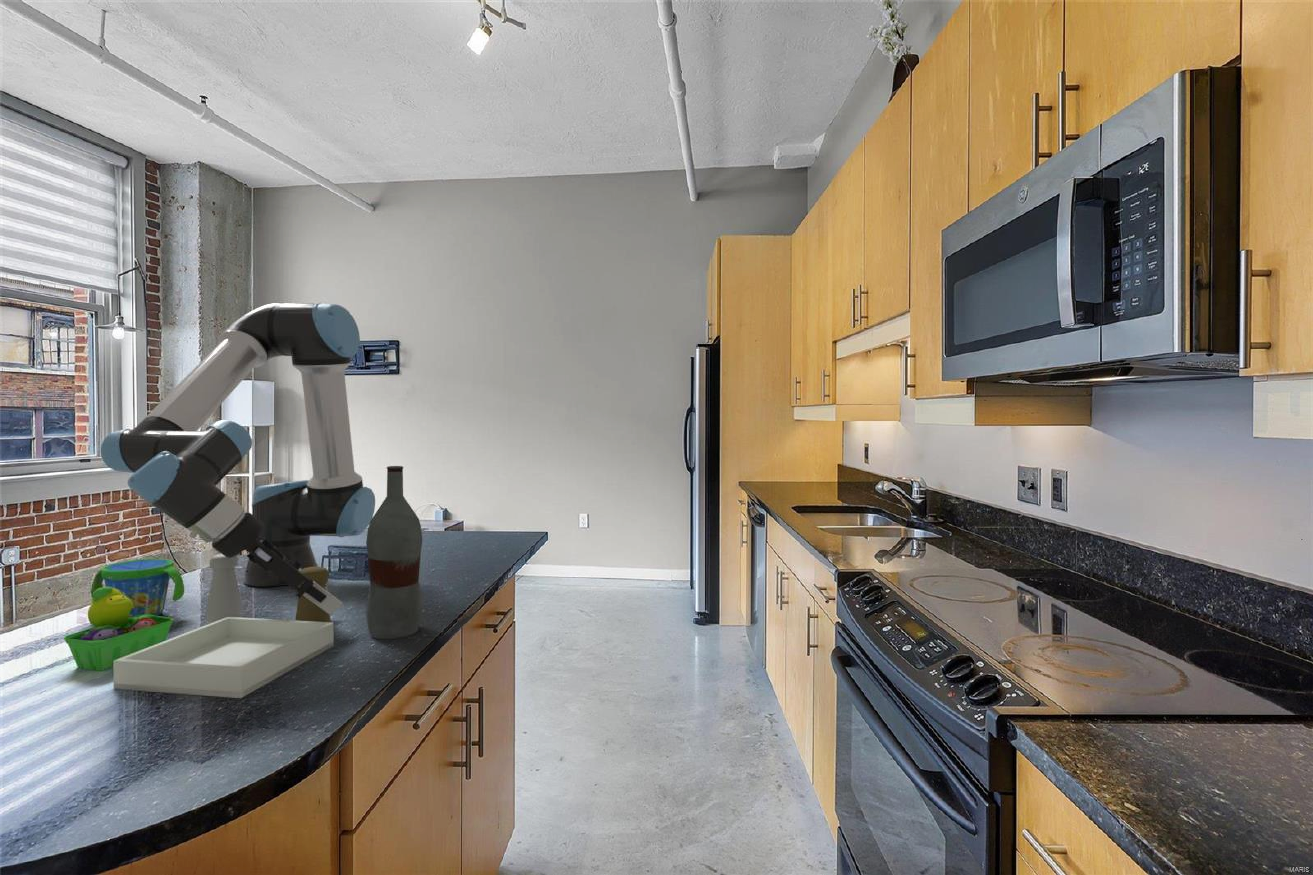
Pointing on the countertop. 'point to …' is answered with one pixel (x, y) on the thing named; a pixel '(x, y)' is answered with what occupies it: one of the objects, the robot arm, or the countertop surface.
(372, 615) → the bottle
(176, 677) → the bin
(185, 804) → the countertop surface
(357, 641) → the countertop surface
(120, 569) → the snack cup
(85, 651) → the fruit basket
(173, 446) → the robot arm
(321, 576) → the cork
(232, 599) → the salt shaker
